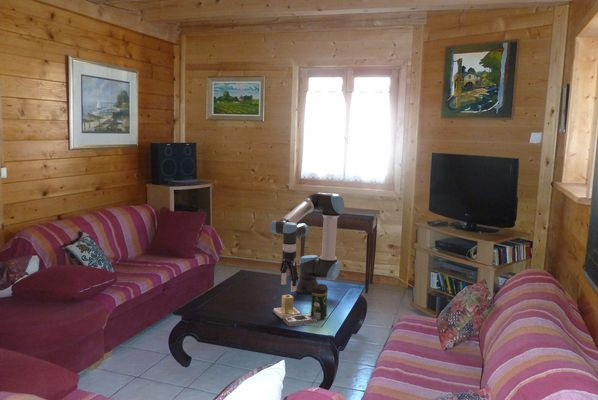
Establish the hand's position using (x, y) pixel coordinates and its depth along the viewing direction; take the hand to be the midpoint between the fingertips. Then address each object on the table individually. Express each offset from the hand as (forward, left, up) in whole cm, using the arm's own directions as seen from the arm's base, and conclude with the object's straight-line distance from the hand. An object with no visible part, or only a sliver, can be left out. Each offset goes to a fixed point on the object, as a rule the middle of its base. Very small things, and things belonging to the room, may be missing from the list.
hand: (288, 287), depth 289 cm
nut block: (0, 0, -15) cm, 15 cm away
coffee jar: (-14, +10, -16) cm, 24 cm away
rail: (-2, +13, -15) cm, 20 cm away
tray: (0, 0, -15) cm, 15 cm away
